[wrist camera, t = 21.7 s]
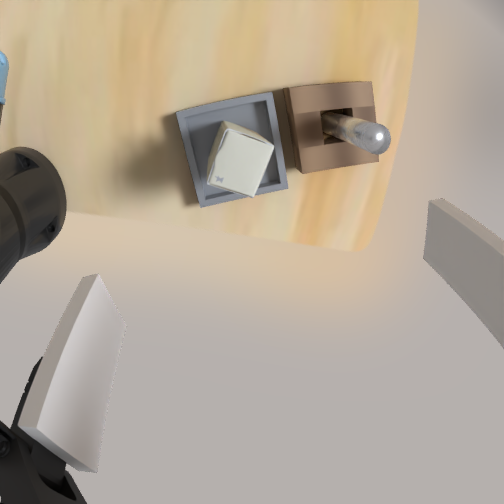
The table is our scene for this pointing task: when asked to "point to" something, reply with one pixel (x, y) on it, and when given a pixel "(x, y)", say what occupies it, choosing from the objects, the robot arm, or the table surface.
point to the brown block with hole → (310, 128)
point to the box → (238, 159)
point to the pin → (357, 132)
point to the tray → (204, 132)
